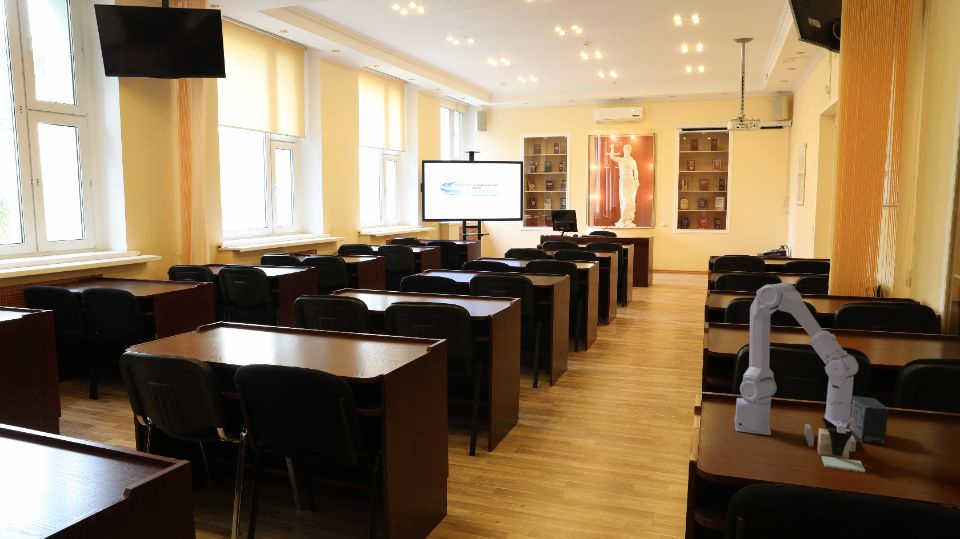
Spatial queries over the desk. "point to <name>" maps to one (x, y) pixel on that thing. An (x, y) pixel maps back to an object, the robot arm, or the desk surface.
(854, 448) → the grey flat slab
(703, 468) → the desk surface
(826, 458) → the mat
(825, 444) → the block
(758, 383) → the robot arm
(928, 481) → the desk surface
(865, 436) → the small box
